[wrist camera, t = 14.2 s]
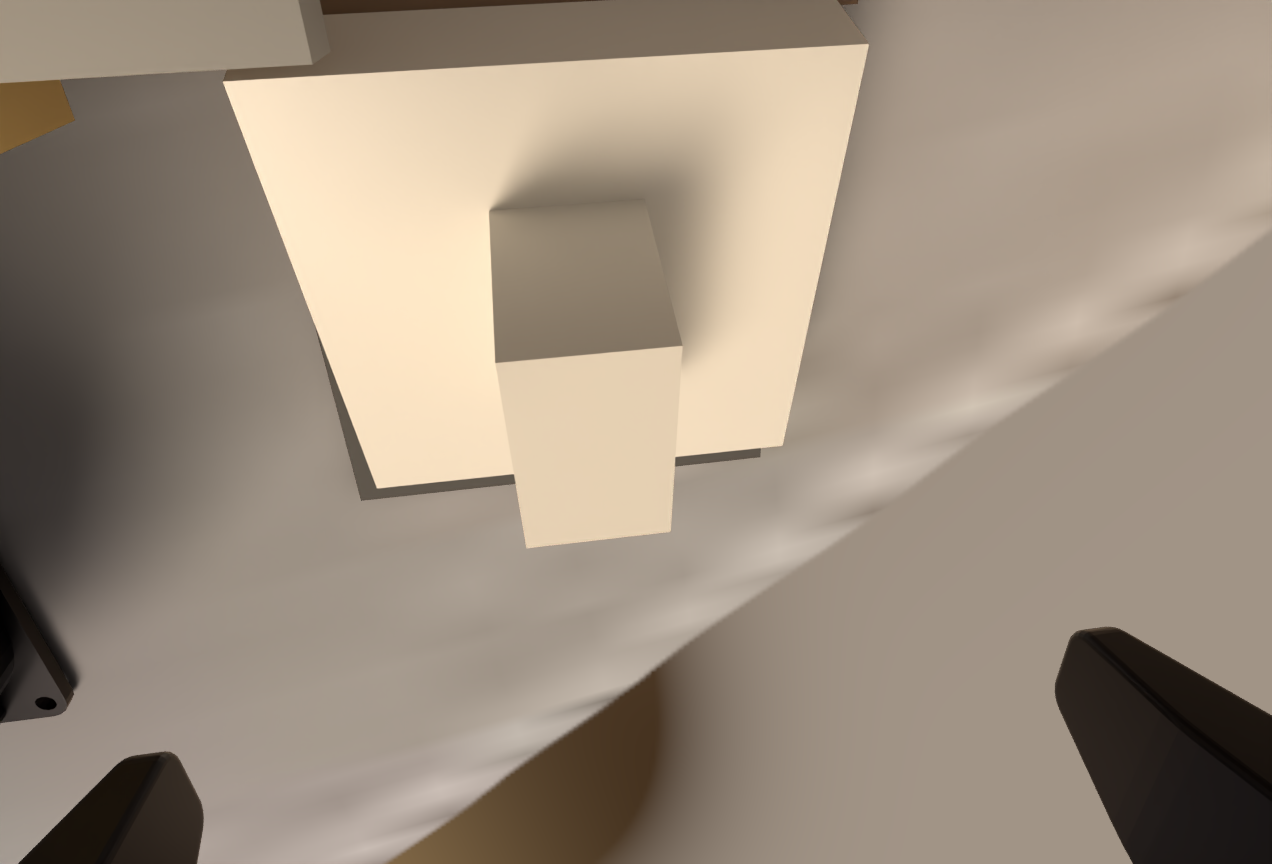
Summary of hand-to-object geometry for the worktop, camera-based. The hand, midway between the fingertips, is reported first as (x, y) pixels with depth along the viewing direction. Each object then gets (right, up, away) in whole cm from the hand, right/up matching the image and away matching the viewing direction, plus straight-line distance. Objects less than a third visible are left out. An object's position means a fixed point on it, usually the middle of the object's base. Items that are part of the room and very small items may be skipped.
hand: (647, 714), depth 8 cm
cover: (-2, +7, +8) cm, 10 cm away
